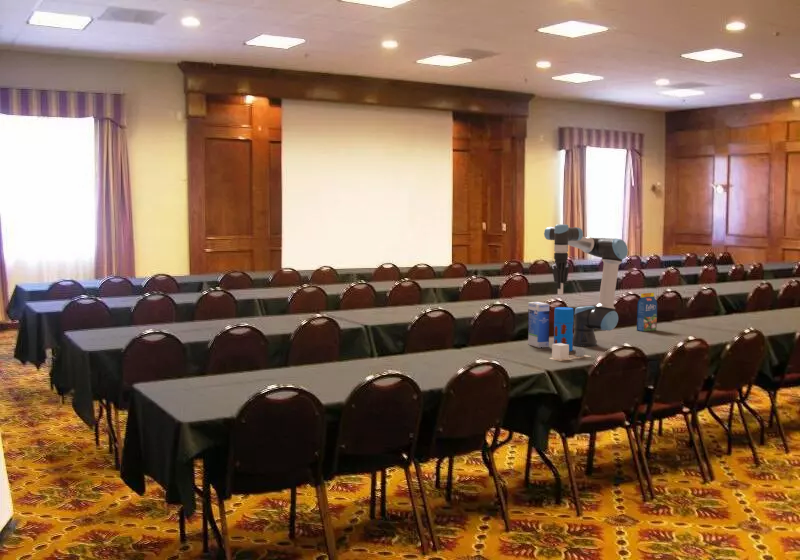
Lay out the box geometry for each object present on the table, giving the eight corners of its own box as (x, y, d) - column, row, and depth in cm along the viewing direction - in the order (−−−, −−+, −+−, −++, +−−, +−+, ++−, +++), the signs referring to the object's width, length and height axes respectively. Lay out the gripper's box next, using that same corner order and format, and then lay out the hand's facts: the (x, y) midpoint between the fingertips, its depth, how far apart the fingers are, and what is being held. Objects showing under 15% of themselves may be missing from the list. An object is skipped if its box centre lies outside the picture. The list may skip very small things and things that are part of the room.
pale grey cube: (579, 355, 477) (580, 348, 476) (584, 356, 474) (584, 349, 474) (575, 355, 475) (575, 348, 474) (580, 356, 472) (580, 349, 472)
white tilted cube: (560, 356, 472) (560, 343, 471) (568, 358, 467) (569, 344, 466) (551, 358, 468) (552, 344, 468) (560, 359, 463) (560, 345, 462)
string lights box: (549, 347, 507) (550, 304, 505) (538, 348, 505) (538, 304, 502) (538, 343, 520) (538, 301, 517) (527, 344, 517) (527, 301, 515)
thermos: (572, 353, 487) (573, 309, 485) (553, 352, 489) (554, 309, 487) (572, 350, 498) (573, 307, 495) (554, 349, 500) (554, 306, 497)
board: (579, 355, 481) (579, 353, 481) (591, 357, 474) (591, 356, 474) (548, 360, 468) (548, 358, 468) (560, 362, 461) (560, 360, 460)
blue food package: (636, 330, 570) (637, 293, 567) (649, 329, 576) (650, 292, 573) (643, 331, 564) (644, 294, 562) (656, 330, 570) (657, 292, 568)
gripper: (564, 251, 482) (563, 293, 484) (547, 252, 475) (547, 294, 477) (574, 252, 476) (573, 294, 478) (557, 253, 468) (556, 296, 471)
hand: (560, 294), depth 477 cm, fingers closed
